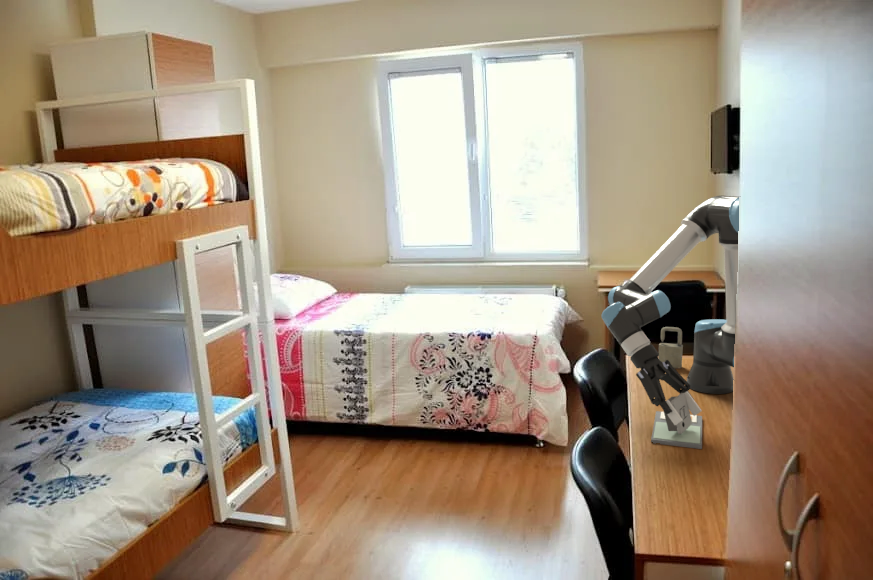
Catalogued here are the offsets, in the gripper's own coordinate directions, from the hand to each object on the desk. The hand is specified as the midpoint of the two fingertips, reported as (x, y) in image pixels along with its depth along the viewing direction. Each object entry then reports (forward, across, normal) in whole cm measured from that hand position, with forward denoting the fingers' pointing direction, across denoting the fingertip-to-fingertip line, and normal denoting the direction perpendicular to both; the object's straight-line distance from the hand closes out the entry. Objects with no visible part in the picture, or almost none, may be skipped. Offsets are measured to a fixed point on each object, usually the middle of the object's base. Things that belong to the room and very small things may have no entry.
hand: (688, 418), depth 185 cm
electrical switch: (+1, 0, -5) cm, 5 cm away
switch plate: (+1, -4, -8) cm, 9 cm away
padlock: (-23, -55, -32) cm, 68 cm away
